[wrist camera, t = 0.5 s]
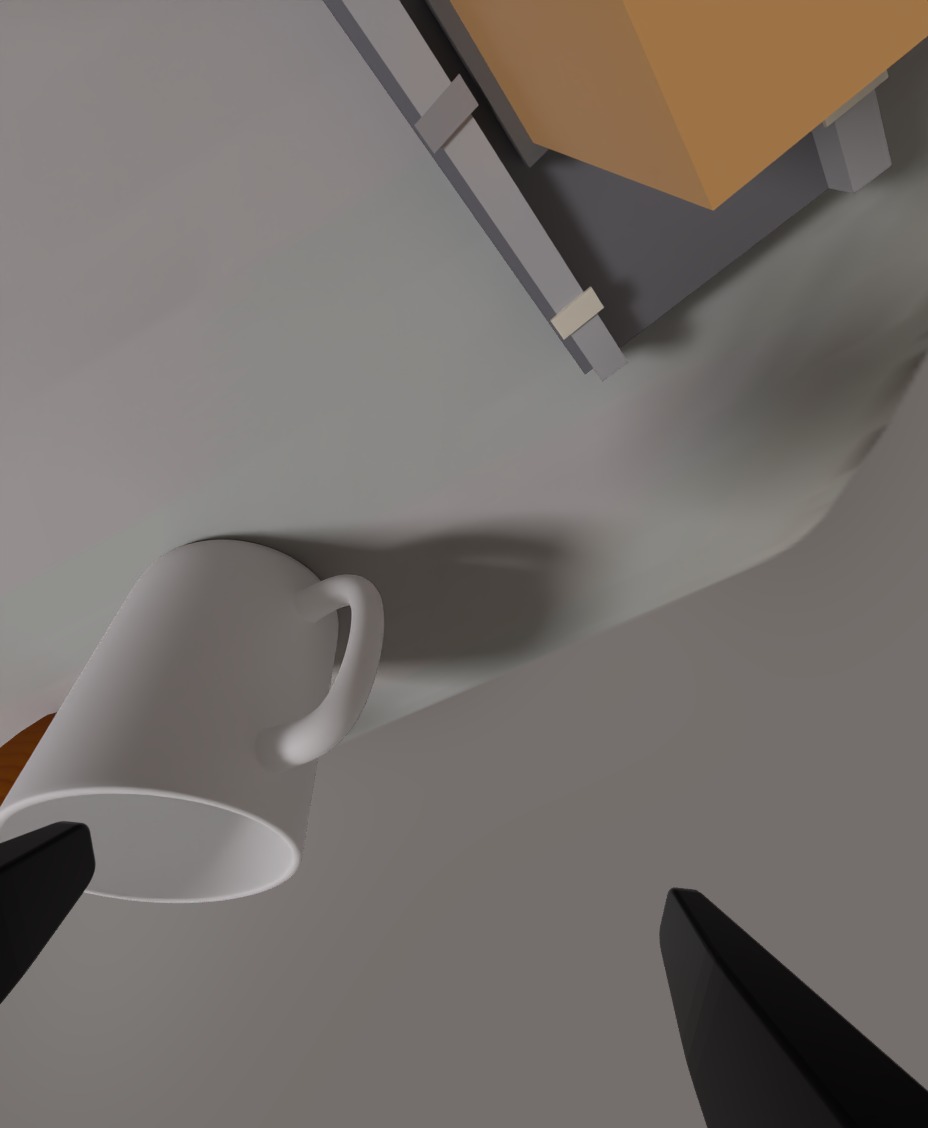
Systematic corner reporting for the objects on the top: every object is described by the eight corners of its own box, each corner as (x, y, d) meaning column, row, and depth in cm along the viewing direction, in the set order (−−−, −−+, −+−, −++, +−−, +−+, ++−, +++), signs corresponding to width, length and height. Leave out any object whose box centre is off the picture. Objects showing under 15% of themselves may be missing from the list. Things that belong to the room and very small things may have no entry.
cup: (97, 590, 22) (-77, 850, 14) (315, 446, 18) (235, 695, 11) (249, 687, 27) (179, 919, 19) (447, 588, 23) (457, 830, 15)
